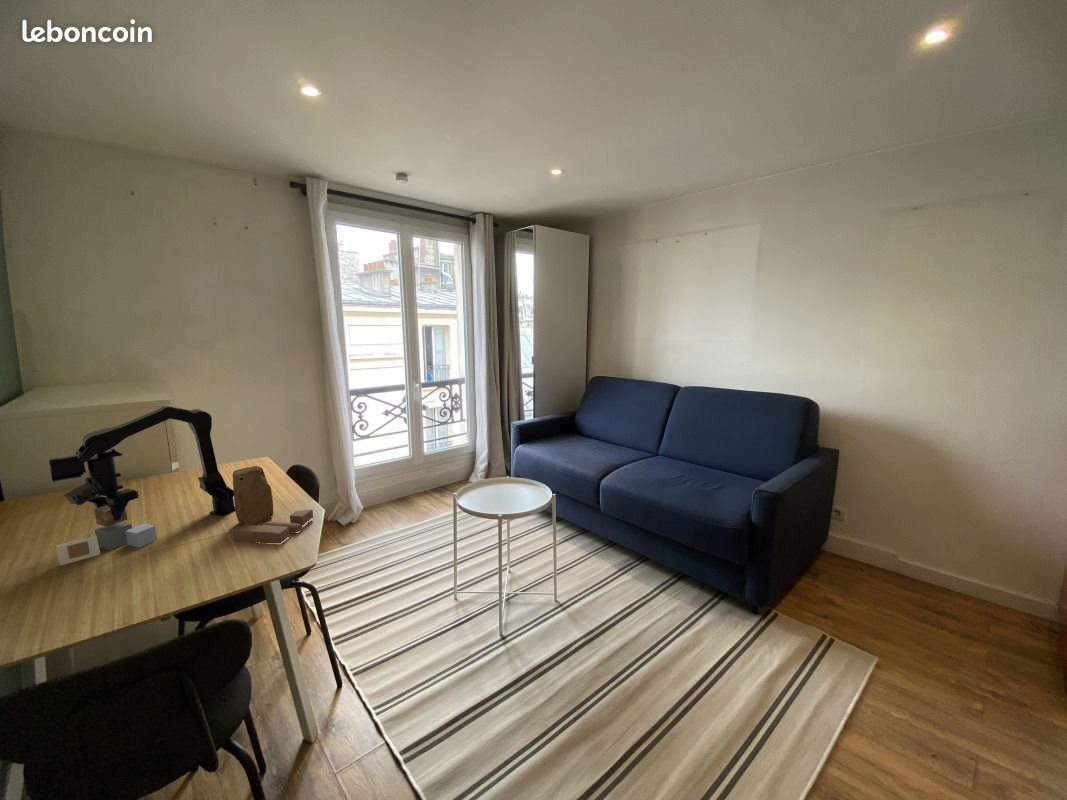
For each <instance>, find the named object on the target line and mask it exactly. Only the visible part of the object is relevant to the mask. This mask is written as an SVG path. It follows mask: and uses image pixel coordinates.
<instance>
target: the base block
mask: <svg viewBox="0 0 1067 800" xmlns="http://www.w3.org/2000/svg"><path fill="white" fill-rule="evenodd" d="M132 528H133V526H132V523H130V522H127V521H126V522H124V521H122V522H119V523H117V524H114V525H111V526H108V527H106V526H101V527H97V528H95V529H94V533H95V534H94V535H95V536H96V535H97V540H98V545H99V548H102V549H106V550H109V551H112V550H114V549H117V548H119V547H122V546H124V545H126V544H127V545H128V543H127V537H126V532H125V531H126V530H129V529H132Z"/></svg>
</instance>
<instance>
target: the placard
mask: <svg viewBox="0 0 1067 800" xmlns="http://www.w3.org/2000/svg"><path fill="white" fill-rule="evenodd" d="M55 547H56V548H55V549H56V554H57V559H58V563H59V566H64V565H68V564H71V563H75V562H78V561H82V560H85V559H89V558H92V557H97V556H100V555H101V549H100V547H99V545H98V540H97V535H96V534H95V535H92V536H88V537H84V538H81V539H80V538H79V539H77V540H73V541H69V542H64V543H62V544H57V545H55Z"/></svg>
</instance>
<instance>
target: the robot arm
mask: <svg viewBox="0 0 1067 800" xmlns="http://www.w3.org/2000/svg"><path fill="white" fill-rule="evenodd" d="M170 419H171V420H176V421H179V422H180V421H181V422H184V423H187V424H188V427H189V428H190V430H191V431H192V433H193V435H194V436H195V441H196V447H197V451H198V455H199V458H200V459H199V460H200V463H201V467H202V471H203V472H202V476H198V477H197V480H198V482H199V489H201V490H202V491H204V492H206V493H207V494H208V495H209V496H211V503H212V508H213V509H212V510H211V511H209V514H210V515H215V516H225V515H228V514H230V513H231V512H232V513H233V512H235V503H234V490H233V489H232V488H231V487H229V486H228V485H227V483H226V482H225V480H224V478H223V475H222V474H221V472H220V471H219V468H218V465H217V464H218V463H217V459H216V458H217V457H216V456H215V451H214V446H213V441H212V437H211V432H212V425H213V423H212V421H213V419H212V416H211V414H210V413H209V412H206V411H205V410H202V409H200V408H194V409H184V408H180V407H173V406H171V405H164V406H161V407H159V408H158V409H156V410H154V411H151V412H149V413H146V414H144V415H141V416H138V417H136V418H134V419H131V420H129V421H127V422H125V423H122V424H119V425H116V426H113V427H112V426H111V427H106V428H103V429H98V430H95V431H91V432H89V433H87V434H85V435H84V436H82V437H83V438H82V440H81V445H80V447H79V448H78V449H77V450H76V452H75V453H74V455H69V456H63V457H62V456H61V457H54V458H53V457H52V458H49V459H48V464H49V468H48V471H49V475H50V479H51V482H52V483H56V482H61V481H67V480H70V479H75V478H77V479H78V478H81V477H82V476H83V475H84V474H85V473H86V472H87V471H88V475H89V476H87V477H86V478H85V483H83V484H82V485H79V486H78V487H75V488H74V489H72V490H71V491H69V492H67V493H65V494H64V497H65V499H66V500H67V501H68V502H69V503H70V504H71V505H73V504H74V505H77V506H81V505H83V504H85V503H86V502H88V503H91V504H93V506H95V509H97V508H100V507H103V506H109V507H110V510H111V512H112V515H113V517H114V519H115V521H117V520H120V518H121V516H122V514H123V512H124V510H125V508H126V507H127V505H128V504H129V502H130V501H132V500H135V499H136V500H137V499H139V498H140V495H139V491H138V490H135V489H131V488H125V489H124V486H123V484H120V483H119V479H118V478H119V477H122V476H121V475H122V474H121V472H117V467H116V463H115V457H121V456H123V453H122V452H121V451H119V450H116V449H115V448H114V447H115V446H117V445H119V444H121V442H123V441H124V440H126V439H127V438H129V437H131V436H134V435H135V434H138V433H141V432H142V431H145V430H148V429H149V428H151V427H154V426H156V425H158V424H161V423H164V422H166V421H168V420H170ZM85 463H86V465H87V469H88V470H87V471H86V466H85Z"/></svg>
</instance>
